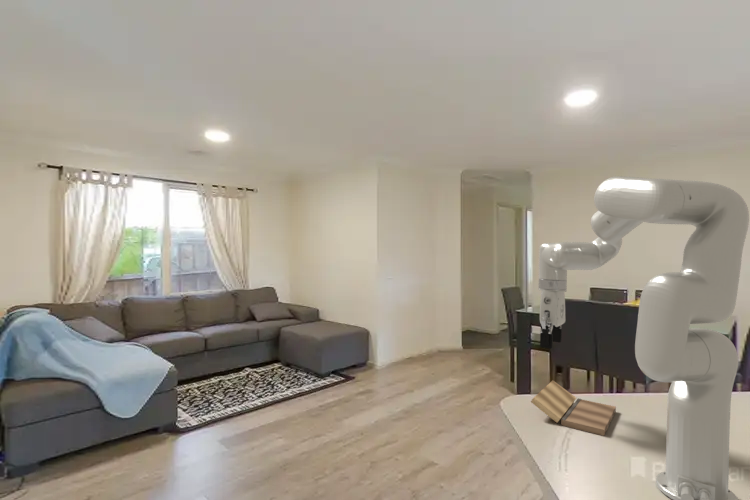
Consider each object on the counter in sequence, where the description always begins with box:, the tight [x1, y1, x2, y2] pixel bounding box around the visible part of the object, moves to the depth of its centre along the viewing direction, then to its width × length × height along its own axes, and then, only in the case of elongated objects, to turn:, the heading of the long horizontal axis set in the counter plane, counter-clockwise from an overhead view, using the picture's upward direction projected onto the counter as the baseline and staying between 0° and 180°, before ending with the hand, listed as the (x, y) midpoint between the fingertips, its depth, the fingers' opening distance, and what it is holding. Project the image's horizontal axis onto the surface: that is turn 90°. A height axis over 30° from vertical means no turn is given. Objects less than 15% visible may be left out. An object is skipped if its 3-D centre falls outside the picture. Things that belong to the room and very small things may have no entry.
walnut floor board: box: [560, 398, 617, 437], centre depth 116 cm, size 20×10×2 cm, turn 143°
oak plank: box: [530, 379, 577, 424], centre depth 121 cm, size 20×8×2 cm
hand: (551, 344), depth 122 cm, fingers open, 9 cm apart
